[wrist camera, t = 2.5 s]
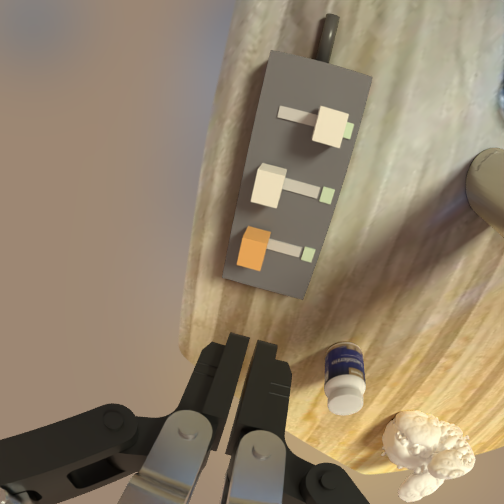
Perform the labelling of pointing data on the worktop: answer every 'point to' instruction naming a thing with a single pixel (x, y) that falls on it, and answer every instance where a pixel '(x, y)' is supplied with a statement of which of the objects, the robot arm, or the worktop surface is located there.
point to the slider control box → (296, 165)
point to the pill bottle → (344, 378)
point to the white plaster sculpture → (426, 452)
